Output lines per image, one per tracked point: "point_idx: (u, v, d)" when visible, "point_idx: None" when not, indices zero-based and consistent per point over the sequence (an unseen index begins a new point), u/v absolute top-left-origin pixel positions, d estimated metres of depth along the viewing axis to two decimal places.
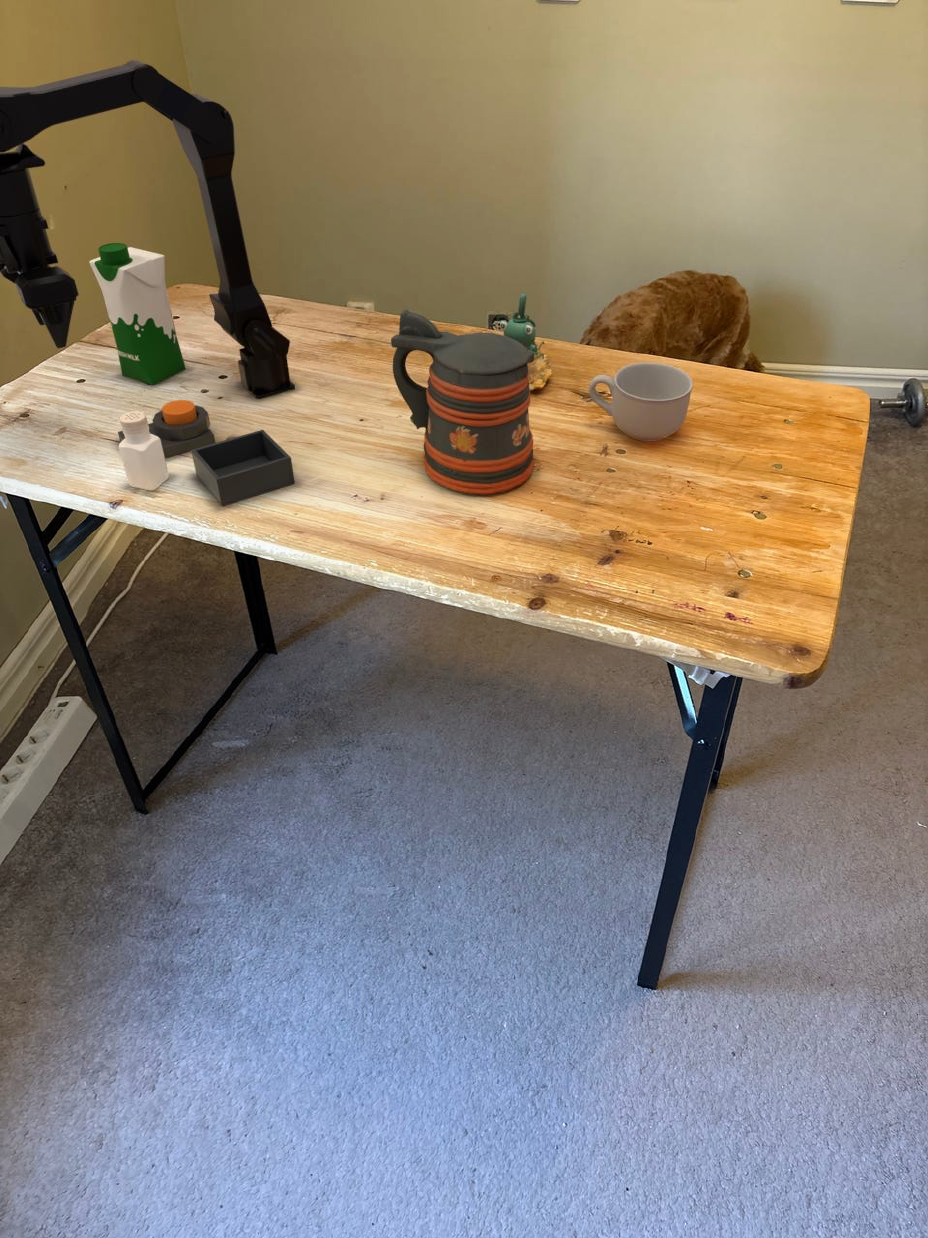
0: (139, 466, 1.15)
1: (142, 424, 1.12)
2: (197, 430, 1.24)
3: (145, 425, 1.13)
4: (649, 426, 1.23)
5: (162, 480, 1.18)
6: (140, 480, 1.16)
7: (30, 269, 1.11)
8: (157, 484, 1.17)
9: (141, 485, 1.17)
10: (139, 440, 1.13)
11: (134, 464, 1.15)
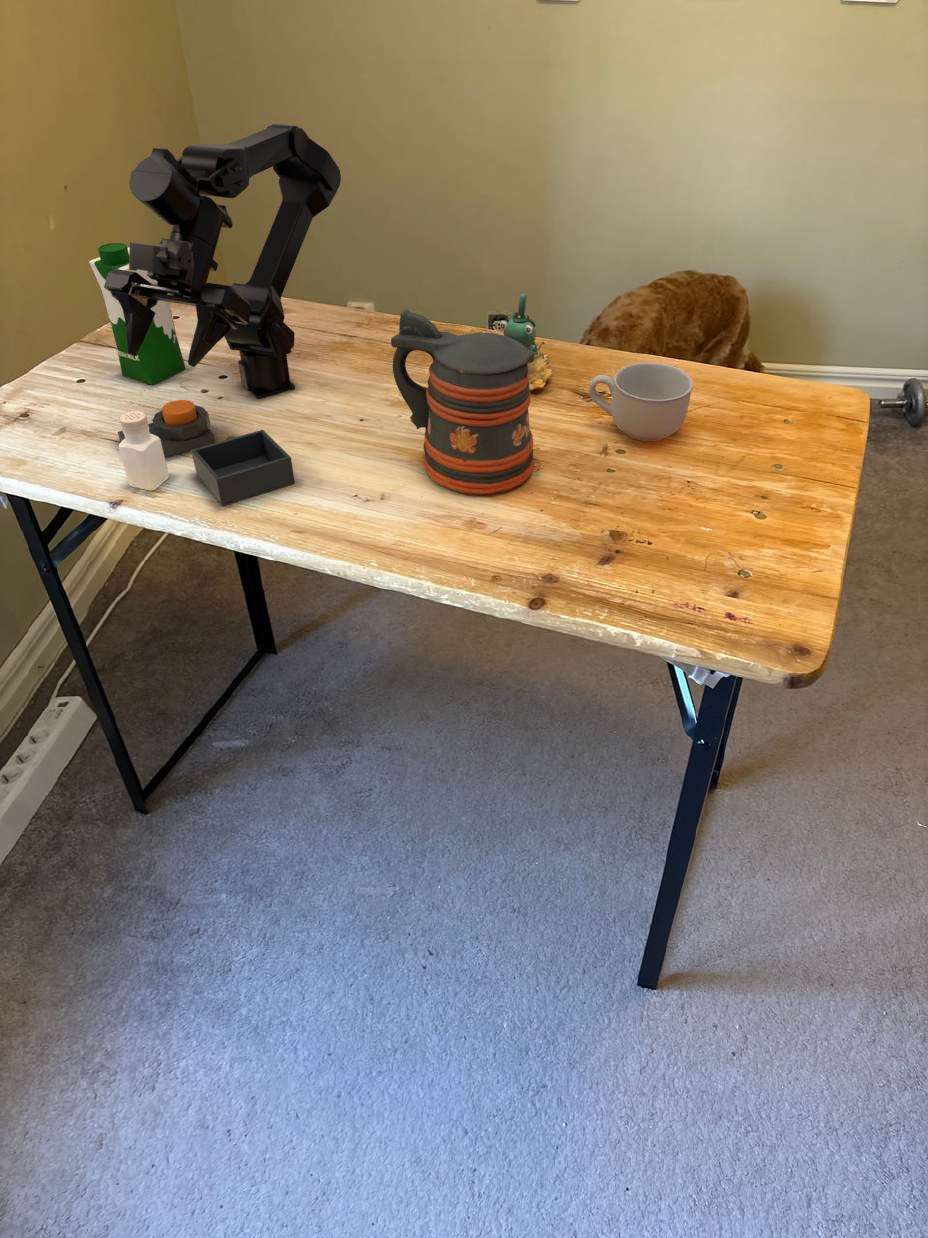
0: (139, 466, 1.15)
1: (142, 424, 1.12)
2: (197, 430, 1.24)
3: (145, 425, 1.13)
4: (649, 426, 1.23)
5: (162, 480, 1.18)
6: (140, 480, 1.16)
7: (195, 290, 1.15)
8: (157, 484, 1.17)
9: (141, 485, 1.17)
10: (139, 440, 1.13)
11: (134, 464, 1.15)
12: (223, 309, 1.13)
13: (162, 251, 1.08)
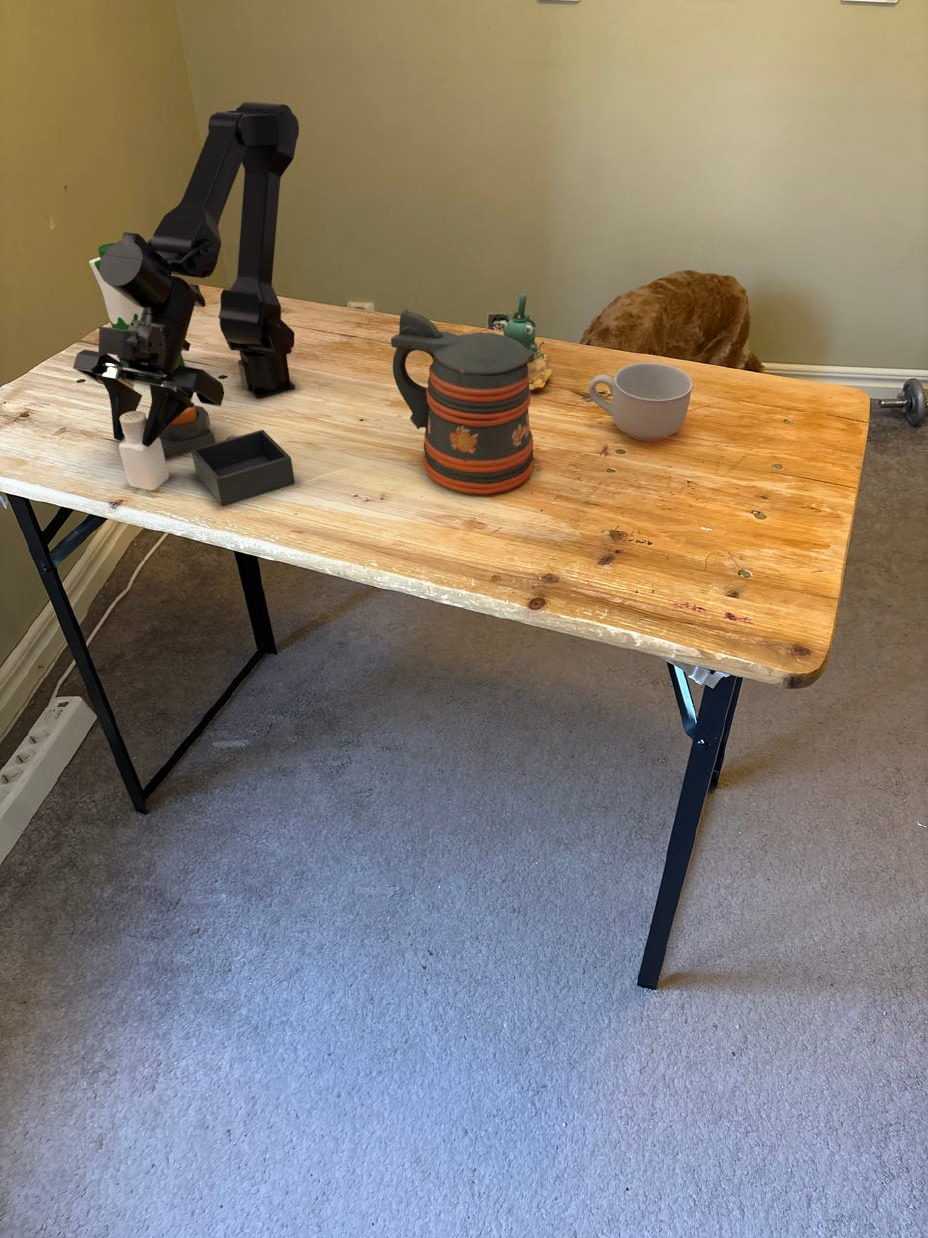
0: (139, 466, 1.15)
1: (142, 424, 1.12)
2: (197, 430, 1.24)
3: None
4: (649, 426, 1.23)
5: (162, 480, 1.18)
6: (140, 480, 1.16)
7: (167, 372, 1.13)
8: (157, 484, 1.17)
9: (141, 485, 1.17)
10: (139, 440, 1.13)
11: (134, 464, 1.15)
12: (178, 389, 1.11)
13: (132, 336, 1.06)
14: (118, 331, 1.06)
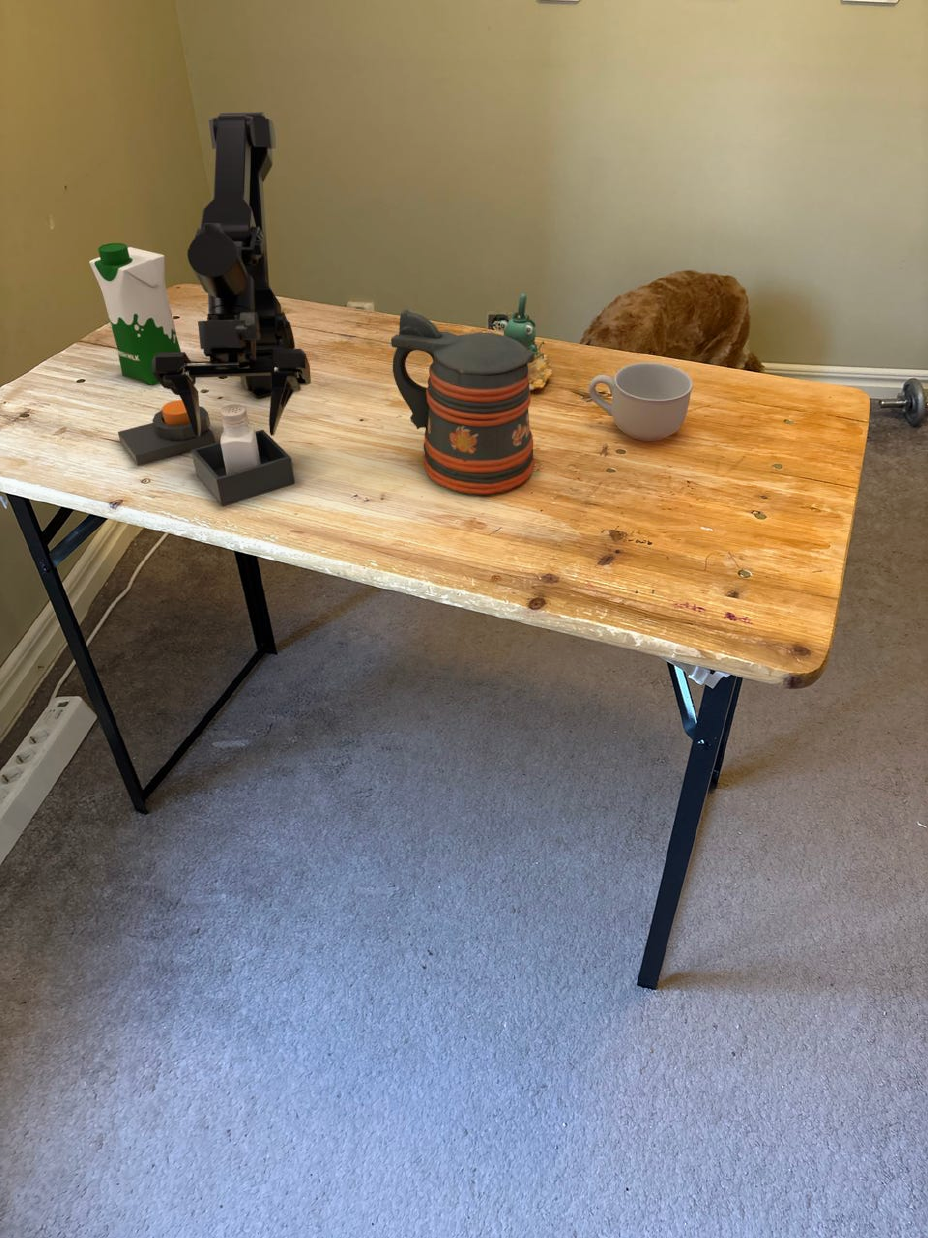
0: (245, 458, 1.15)
1: (245, 415, 1.13)
2: None
3: None
4: (649, 426, 1.23)
5: None
6: None
7: (254, 359, 1.14)
8: None
9: None
10: (243, 432, 1.14)
11: (239, 458, 1.15)
12: (295, 372, 1.13)
13: (240, 324, 1.06)
14: (224, 321, 1.06)
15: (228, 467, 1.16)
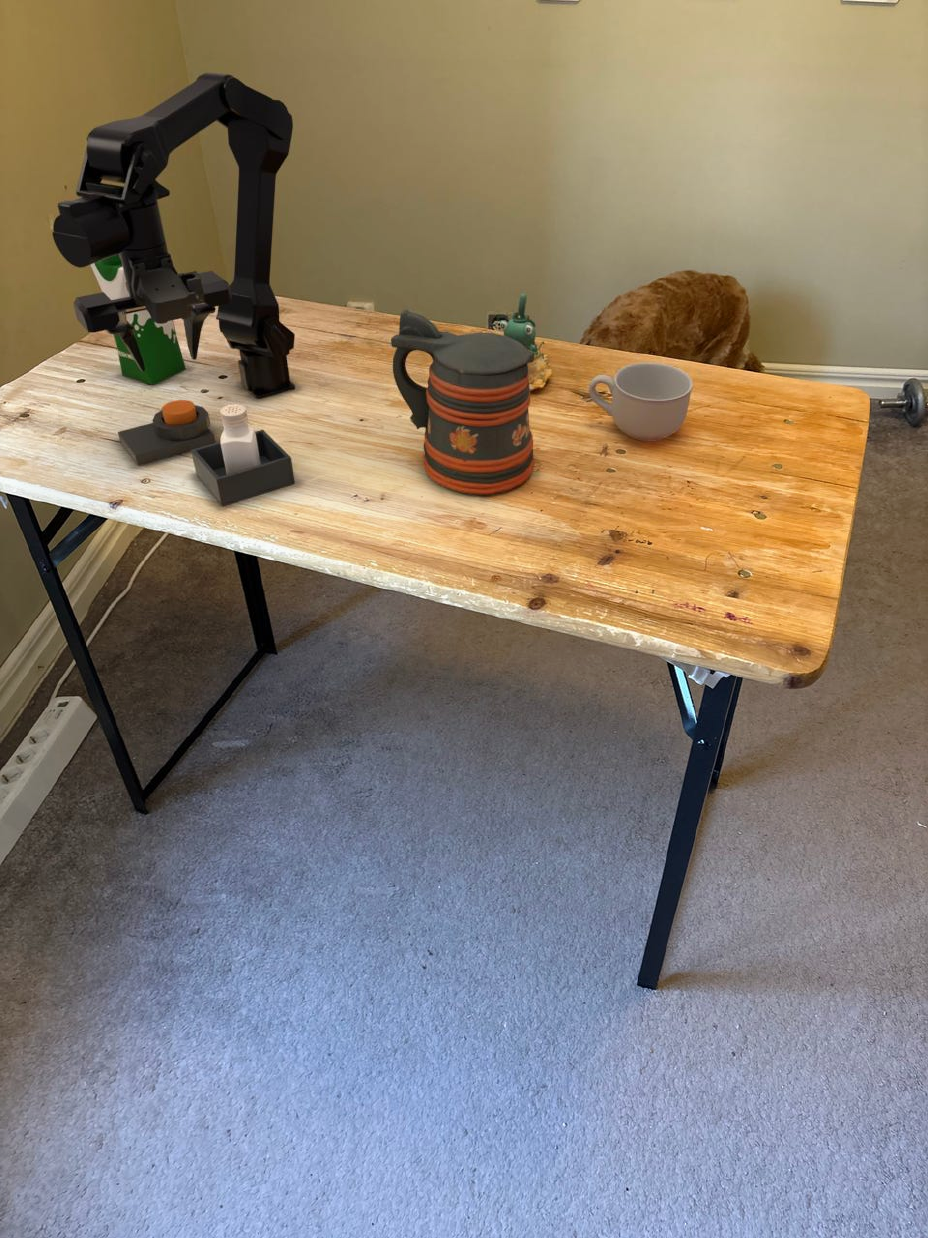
0: (245, 458, 1.15)
1: (245, 415, 1.13)
2: (197, 430, 1.24)
3: None
4: (649, 426, 1.23)
5: None
6: None
7: None
8: None
9: None
10: (243, 432, 1.14)
11: (239, 458, 1.15)
12: None
13: (192, 297, 1.10)
14: (180, 300, 1.09)
15: (228, 467, 1.16)
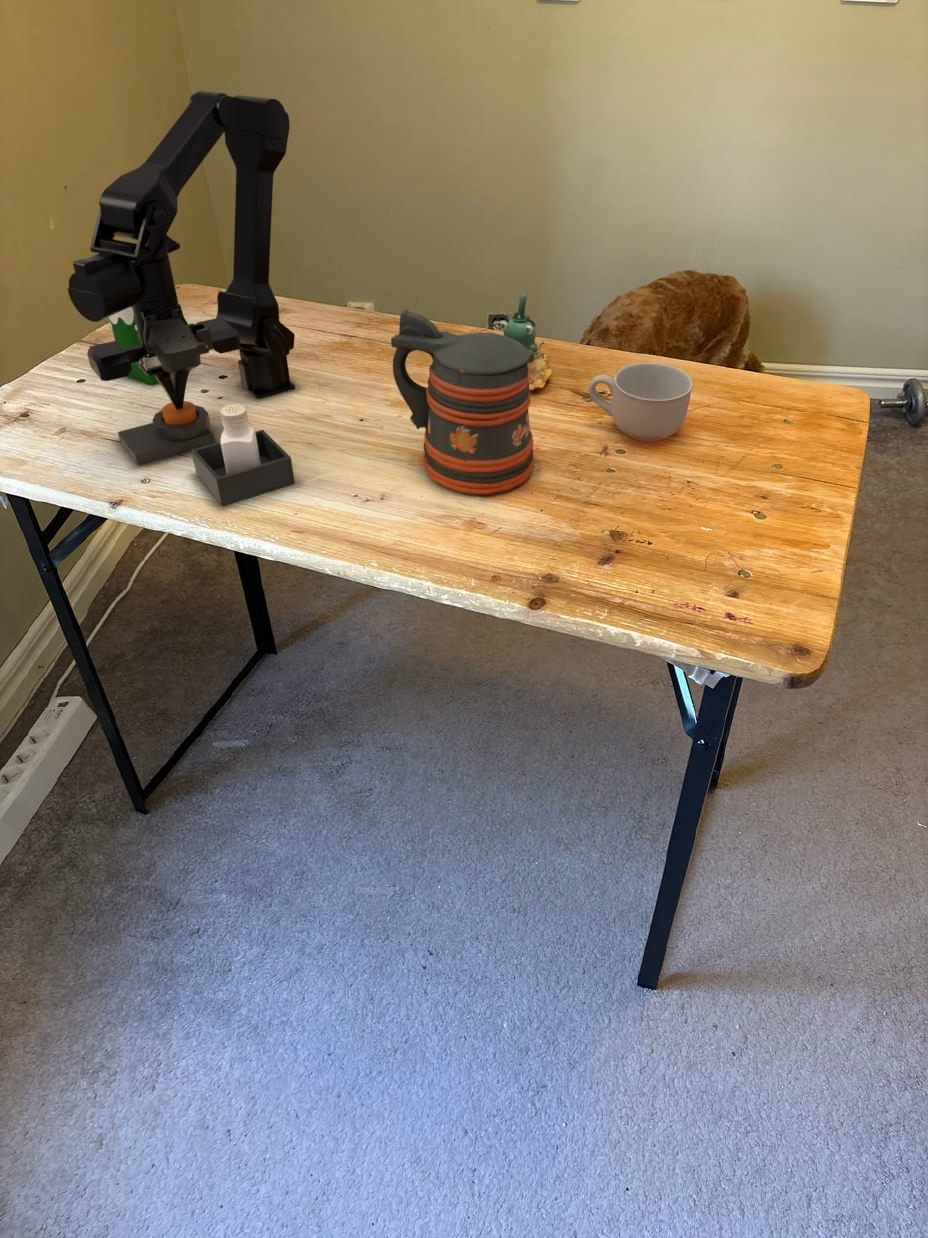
0: (245, 458, 1.15)
1: (245, 415, 1.13)
2: (197, 430, 1.24)
3: None
4: (649, 426, 1.23)
5: None
6: None
7: None
8: None
9: None
10: (243, 432, 1.14)
11: (239, 458, 1.15)
12: None
13: (202, 347, 1.14)
14: (190, 350, 1.13)
15: (228, 467, 1.16)
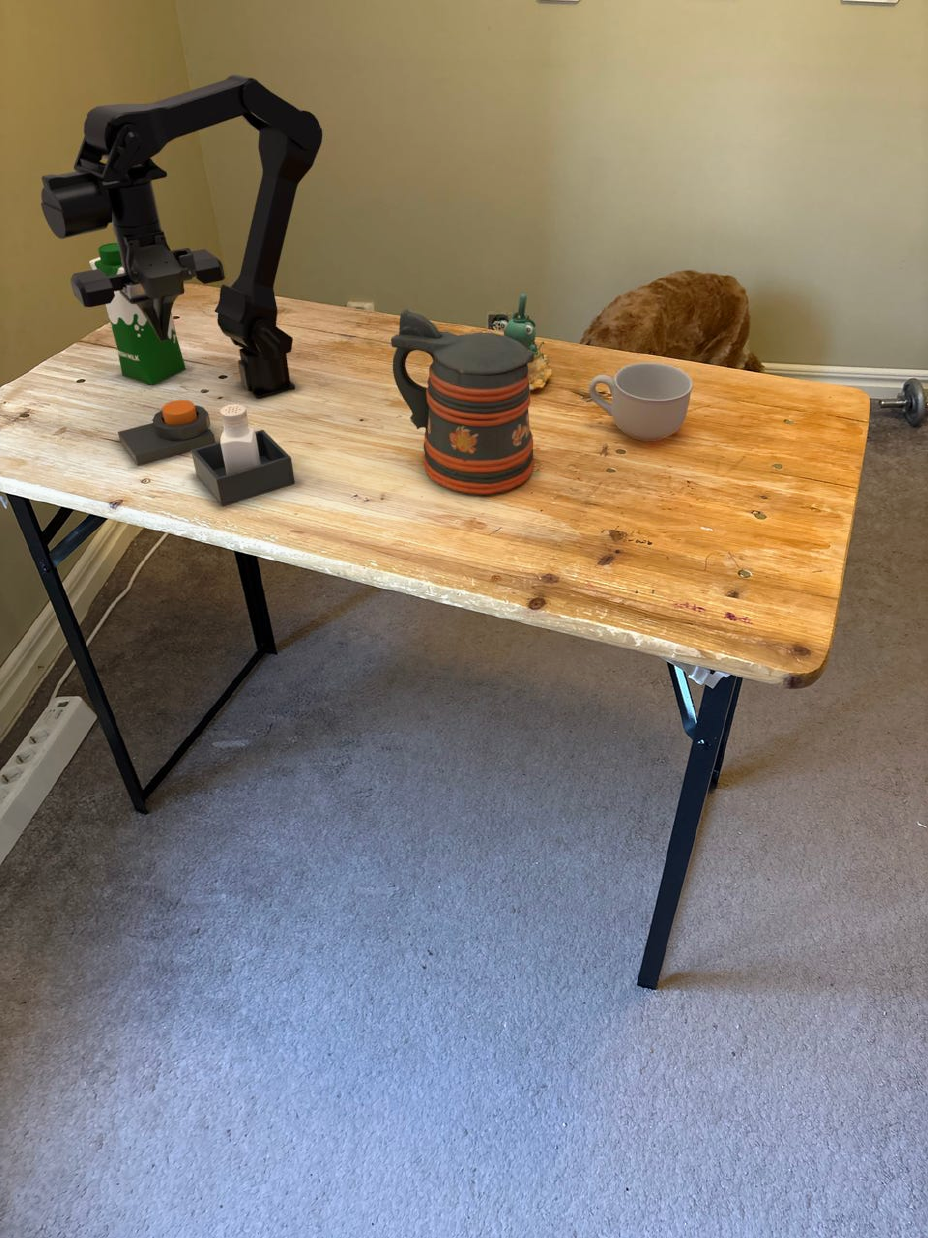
0: (245, 458, 1.15)
1: (245, 415, 1.13)
2: (197, 430, 1.24)
3: None
4: (649, 426, 1.23)
5: None
6: None
7: None
8: None
9: None
10: (243, 432, 1.14)
11: (239, 458, 1.15)
12: None
13: (185, 273, 1.14)
14: (173, 275, 1.13)
15: (228, 467, 1.16)
